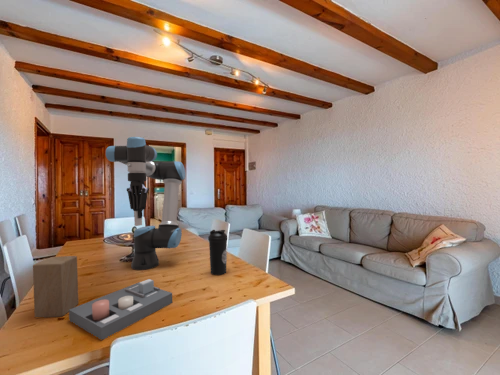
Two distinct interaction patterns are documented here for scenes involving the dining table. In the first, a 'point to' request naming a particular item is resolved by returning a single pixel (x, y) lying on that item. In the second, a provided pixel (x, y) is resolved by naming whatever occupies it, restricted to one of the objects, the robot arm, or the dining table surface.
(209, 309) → the dining table surface
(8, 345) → the dining table surface
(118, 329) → the console
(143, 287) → the slider knob
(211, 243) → the water bottle
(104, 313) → the button coral
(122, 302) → the button ivory
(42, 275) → the wooden block
